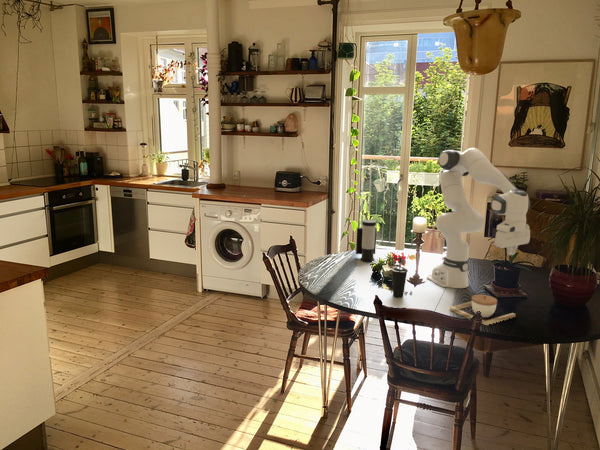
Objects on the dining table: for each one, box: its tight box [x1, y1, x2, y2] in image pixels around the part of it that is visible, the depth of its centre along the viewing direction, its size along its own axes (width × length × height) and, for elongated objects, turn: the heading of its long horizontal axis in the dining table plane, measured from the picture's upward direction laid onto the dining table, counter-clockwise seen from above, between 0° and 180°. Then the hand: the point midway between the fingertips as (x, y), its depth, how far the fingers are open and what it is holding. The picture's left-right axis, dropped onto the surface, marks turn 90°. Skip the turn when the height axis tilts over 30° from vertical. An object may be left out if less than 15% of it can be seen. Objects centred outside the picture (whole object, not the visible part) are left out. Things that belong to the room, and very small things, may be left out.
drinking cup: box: [391, 256, 408, 299], centre depth 240 cm, size 8×8×20 cm
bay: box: [449, 300, 517, 326], centre depth 223 cm, size 20×20×2 cm
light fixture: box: [355, 219, 377, 263], centre depth 299 cm, size 12×11×25 cm
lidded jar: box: [471, 294, 498, 319], centre depth 220 cm, size 11×11×9 cm
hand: (511, 254), depth 227 cm, fingers closed
